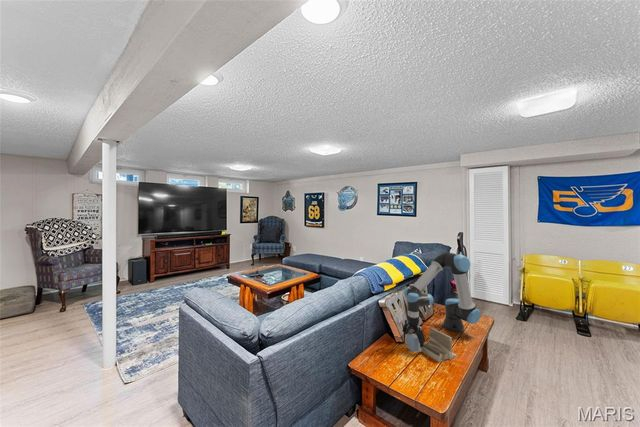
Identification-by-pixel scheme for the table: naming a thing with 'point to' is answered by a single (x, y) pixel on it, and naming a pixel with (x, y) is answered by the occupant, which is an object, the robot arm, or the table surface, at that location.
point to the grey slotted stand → (439, 346)
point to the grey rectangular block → (412, 342)
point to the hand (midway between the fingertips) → (413, 347)
